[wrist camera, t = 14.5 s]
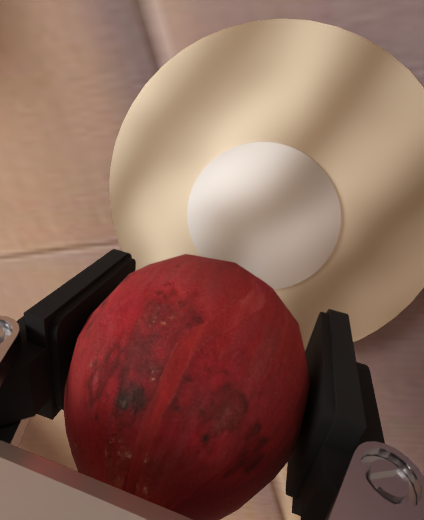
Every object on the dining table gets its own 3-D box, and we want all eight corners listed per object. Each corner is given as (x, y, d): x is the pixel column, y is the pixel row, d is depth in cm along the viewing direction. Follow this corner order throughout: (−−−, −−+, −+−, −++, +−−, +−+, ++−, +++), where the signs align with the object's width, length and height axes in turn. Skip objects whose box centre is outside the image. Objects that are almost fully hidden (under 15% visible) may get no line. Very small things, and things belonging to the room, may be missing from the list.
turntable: (543, 136, 16) (667, 152, 11) (316, 384, 26) (317, 463, 20) (184, -45, 17) (120, -119, 12) (92, 260, 27) (33, 301, 21)
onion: (146, 209, 11) (-128, 379, 4) (324, 231, 10) (349, 526, 3) (153, 347, 14) (-14, 596, 7) (297, 378, 12) (274, 730, 5)
